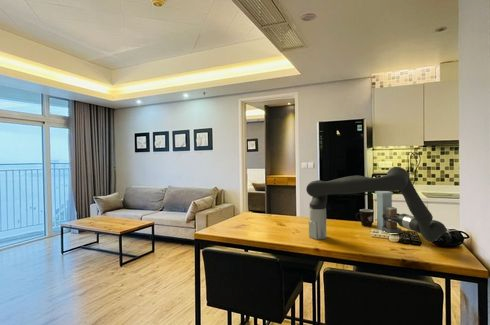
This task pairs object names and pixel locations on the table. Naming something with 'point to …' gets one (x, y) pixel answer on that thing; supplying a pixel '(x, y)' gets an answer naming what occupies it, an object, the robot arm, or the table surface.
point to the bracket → (391, 230)
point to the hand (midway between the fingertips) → (389, 215)
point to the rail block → (392, 212)
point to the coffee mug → (366, 217)
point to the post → (383, 206)
